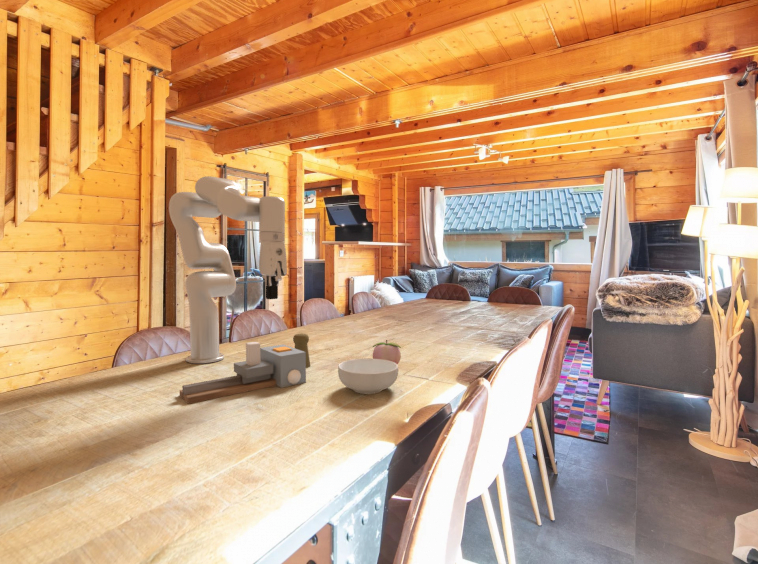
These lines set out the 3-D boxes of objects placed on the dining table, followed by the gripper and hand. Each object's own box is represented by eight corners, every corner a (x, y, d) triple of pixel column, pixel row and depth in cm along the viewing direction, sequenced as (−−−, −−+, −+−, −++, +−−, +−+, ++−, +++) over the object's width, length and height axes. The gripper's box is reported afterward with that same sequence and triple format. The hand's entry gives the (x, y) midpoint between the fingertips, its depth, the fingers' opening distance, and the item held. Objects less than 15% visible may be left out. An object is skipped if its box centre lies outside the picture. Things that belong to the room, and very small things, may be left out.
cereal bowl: (392, 402, 110) (392, 374, 109) (330, 397, 113) (330, 371, 112) (402, 382, 126) (402, 358, 126) (347, 379, 129) (347, 356, 129)
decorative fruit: (401, 367, 143) (401, 337, 142) (400, 373, 135) (400, 342, 134) (373, 366, 144) (373, 336, 143) (370, 373, 136) (370, 341, 135)
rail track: (179, 395, 114) (179, 382, 114) (264, 379, 130) (264, 367, 129) (188, 403, 108) (188, 390, 108) (276, 385, 123) (276, 373, 123)
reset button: (273, 361, 129) (272, 348, 129) (285, 359, 132) (284, 346, 131) (279, 364, 126) (278, 350, 126) (291, 361, 128) (291, 348, 128)
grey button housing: (260, 376, 132) (259, 347, 131) (283, 372, 137) (283, 344, 136) (282, 388, 121) (281, 356, 120) (306, 382, 126) (306, 352, 125)
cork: (306, 369, 141) (306, 335, 140) (289, 368, 142) (288, 335, 141) (313, 364, 147) (312, 332, 146) (296, 363, 148) (295, 331, 147)
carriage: (234, 378, 124) (233, 342, 123) (260, 373, 129) (259, 338, 129) (246, 385, 117) (245, 347, 117) (273, 380, 122) (272, 343, 122)
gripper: (295, 238, 126) (294, 300, 127) (272, 238, 137) (272, 295, 139) (271, 238, 121) (271, 302, 123) (250, 237, 133) (250, 296, 134)
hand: (271, 298), depth 131 cm, fingers closed
